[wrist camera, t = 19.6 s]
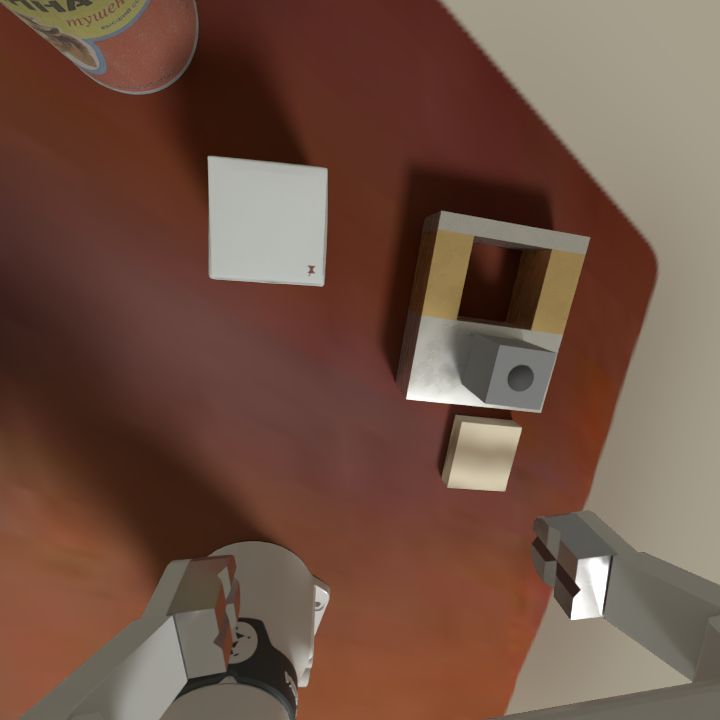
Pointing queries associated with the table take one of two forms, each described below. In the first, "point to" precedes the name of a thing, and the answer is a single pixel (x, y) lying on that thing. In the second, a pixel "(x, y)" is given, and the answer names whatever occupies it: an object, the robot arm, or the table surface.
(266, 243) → the supplement box
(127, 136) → the table surface
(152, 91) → the canned food
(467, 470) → the tab
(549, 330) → the grey yellow rectangular frame
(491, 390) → the nut block
